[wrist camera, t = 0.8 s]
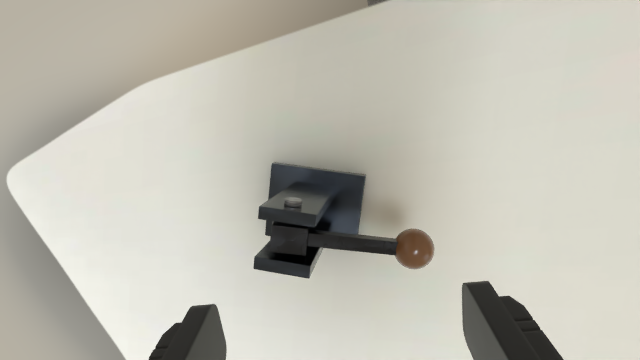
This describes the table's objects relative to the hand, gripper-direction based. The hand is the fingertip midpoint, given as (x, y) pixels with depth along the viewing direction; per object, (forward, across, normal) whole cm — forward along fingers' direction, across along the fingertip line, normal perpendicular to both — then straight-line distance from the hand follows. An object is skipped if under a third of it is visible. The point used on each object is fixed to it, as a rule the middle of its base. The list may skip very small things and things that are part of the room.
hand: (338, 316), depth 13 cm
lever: (+19, 0, +7) cm, 20 cm away
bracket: (+29, +3, +7) cm, 30 cm away
